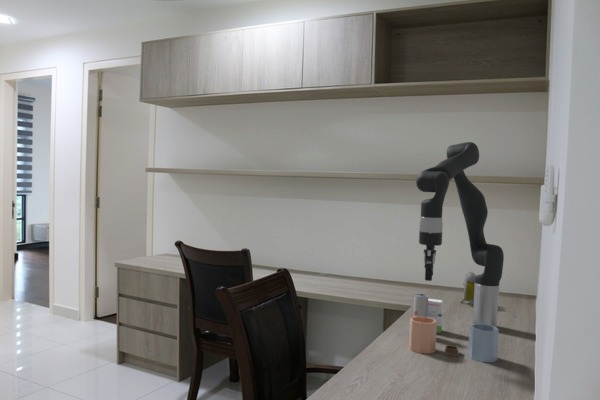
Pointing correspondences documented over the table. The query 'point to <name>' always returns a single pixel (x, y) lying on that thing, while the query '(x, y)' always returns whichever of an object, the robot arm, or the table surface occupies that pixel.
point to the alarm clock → (469, 287)
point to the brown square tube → (451, 350)
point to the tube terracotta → (422, 334)
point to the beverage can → (420, 305)
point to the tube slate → (483, 342)
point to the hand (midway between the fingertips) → (429, 278)
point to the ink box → (436, 312)
